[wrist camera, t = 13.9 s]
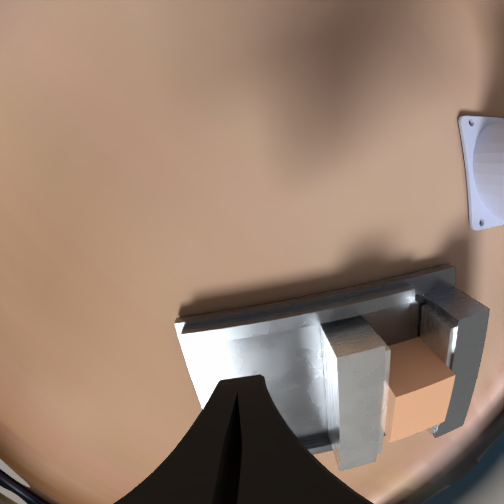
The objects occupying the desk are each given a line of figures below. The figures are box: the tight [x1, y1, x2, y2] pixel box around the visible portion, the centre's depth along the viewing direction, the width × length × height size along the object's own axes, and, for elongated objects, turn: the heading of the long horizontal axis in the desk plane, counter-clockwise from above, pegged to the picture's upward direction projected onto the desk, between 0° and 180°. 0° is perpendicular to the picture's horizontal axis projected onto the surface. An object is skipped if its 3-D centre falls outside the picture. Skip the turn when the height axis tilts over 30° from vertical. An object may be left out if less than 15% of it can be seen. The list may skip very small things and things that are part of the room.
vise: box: [174, 264, 490, 455], centre depth 18 cm, size 18×13×5 cm
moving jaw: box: [320, 315, 391, 471], centre depth 17 cm, size 3×10×4 cm, turn 10°
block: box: [384, 337, 455, 442], centre depth 17 cm, size 4×4×5 cm
